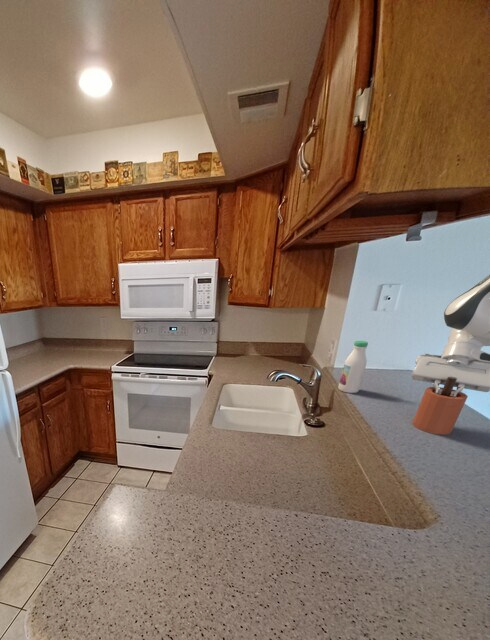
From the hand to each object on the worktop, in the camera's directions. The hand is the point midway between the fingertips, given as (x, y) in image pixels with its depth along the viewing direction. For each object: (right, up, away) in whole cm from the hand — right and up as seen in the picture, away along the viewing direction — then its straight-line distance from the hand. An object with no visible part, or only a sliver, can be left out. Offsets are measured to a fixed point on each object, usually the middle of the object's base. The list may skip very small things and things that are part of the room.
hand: (444, 396), depth 101 cm
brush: (0, -8, +5) cm, 9 cm away
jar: (+1, -9, +6) cm, 11 cm away
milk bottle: (-10, +6, +36) cm, 38 cm away
